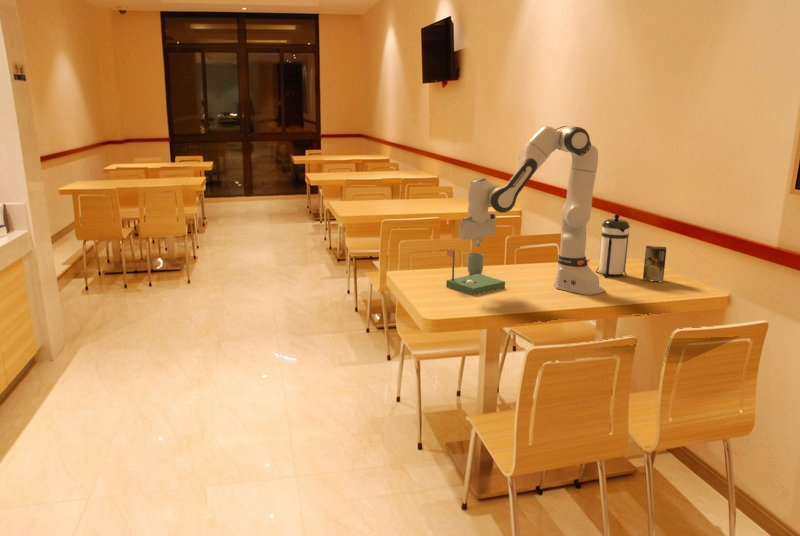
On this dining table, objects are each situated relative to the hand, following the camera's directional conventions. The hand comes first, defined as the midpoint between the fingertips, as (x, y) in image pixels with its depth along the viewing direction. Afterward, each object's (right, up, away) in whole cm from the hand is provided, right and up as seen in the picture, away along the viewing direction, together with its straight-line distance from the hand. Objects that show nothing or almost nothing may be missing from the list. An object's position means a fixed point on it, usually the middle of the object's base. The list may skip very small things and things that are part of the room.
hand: (477, 247), depth 273 cm
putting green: (-1, -18, +6) cm, 19 cm away
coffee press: (+69, -13, +31) cm, 77 cm away
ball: (-3, -17, +2) cm, 17 cm away
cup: (+2, -13, +27) cm, 30 cm away
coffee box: (+86, -15, +21) cm, 90 cm away
